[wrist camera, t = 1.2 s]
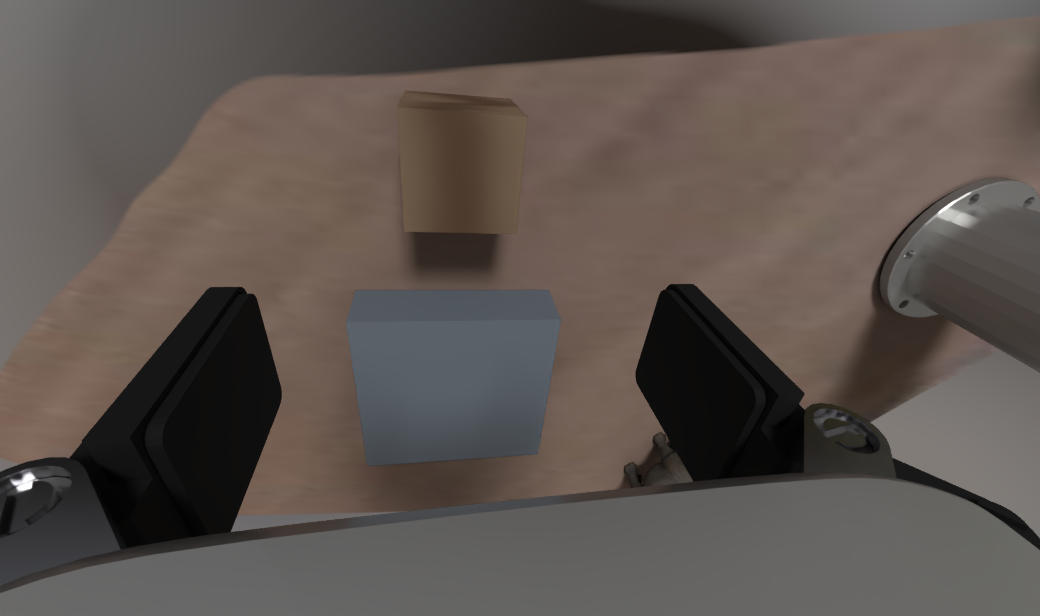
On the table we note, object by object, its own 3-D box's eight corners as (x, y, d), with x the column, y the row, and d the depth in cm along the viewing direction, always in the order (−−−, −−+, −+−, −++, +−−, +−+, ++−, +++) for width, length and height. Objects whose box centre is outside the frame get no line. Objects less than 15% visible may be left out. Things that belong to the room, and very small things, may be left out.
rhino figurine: (719, 402, 44) (755, 450, 39) (639, 484, 50) (662, 535, 45) (690, 392, 42) (724, 440, 37) (611, 478, 48) (631, 530, 43)
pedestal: (548, 290, 33) (560, 319, 30) (529, 419, 41) (537, 454, 37) (356, 290, 31) (345, 322, 27) (373, 427, 38) (367, 466, 35)
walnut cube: (510, 98, 26) (527, 116, 21) (503, 198, 29) (516, 234, 24) (405, 90, 24) (397, 107, 20) (410, 194, 28) (403, 231, 23)
